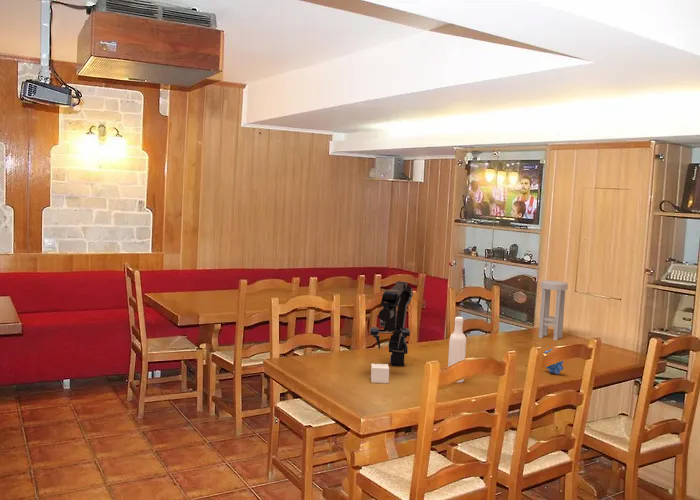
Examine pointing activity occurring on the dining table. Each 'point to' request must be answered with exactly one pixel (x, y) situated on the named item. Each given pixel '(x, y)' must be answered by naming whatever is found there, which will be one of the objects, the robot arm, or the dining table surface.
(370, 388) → the dining table surface
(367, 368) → the dining table surface
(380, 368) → the pale pink cube
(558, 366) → the grapes
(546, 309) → the stool
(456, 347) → the bottle
